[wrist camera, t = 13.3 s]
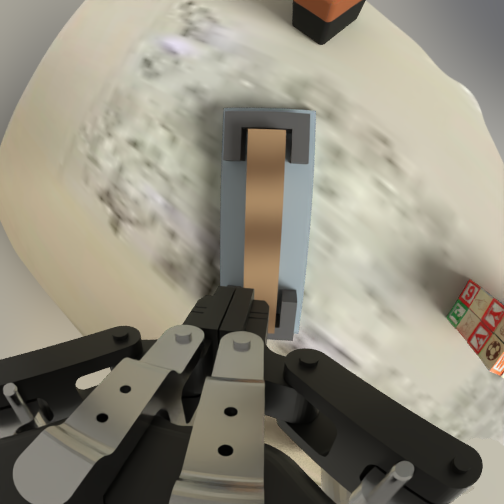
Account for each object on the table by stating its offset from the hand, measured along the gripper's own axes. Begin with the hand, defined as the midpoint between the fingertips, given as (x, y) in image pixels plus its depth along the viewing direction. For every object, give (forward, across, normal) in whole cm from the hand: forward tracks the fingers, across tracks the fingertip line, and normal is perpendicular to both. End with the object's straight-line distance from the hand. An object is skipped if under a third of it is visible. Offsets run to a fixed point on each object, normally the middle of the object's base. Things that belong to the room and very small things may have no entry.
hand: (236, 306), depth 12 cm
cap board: (+18, 0, 0) cm, 18 cm away
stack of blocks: (+18, -36, +11) cm, 42 cm away
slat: (+17, 0, 0) cm, 17 cm away
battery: (+18, -6, -24) cm, 31 cm away
